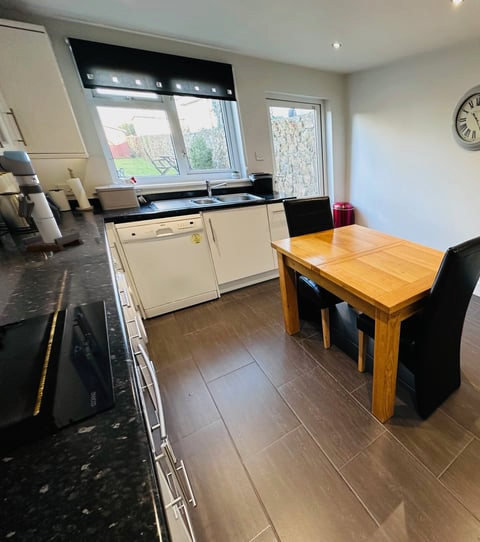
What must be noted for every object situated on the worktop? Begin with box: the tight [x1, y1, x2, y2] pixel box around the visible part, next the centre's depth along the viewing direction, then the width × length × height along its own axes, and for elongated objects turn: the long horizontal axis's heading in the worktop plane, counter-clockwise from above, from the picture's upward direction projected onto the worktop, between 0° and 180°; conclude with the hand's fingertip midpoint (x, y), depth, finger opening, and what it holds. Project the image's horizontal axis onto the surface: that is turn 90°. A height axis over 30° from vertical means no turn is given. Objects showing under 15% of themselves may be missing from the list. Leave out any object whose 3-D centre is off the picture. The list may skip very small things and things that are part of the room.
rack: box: [21, 231, 84, 253], centre depth 151 cm, size 16×14×7 cm
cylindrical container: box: [22, 191, 63, 243], centre depth 145 cm, size 7×7×25 cm
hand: (47, 226), depth 147 cm, fingers open, 13 cm apart
